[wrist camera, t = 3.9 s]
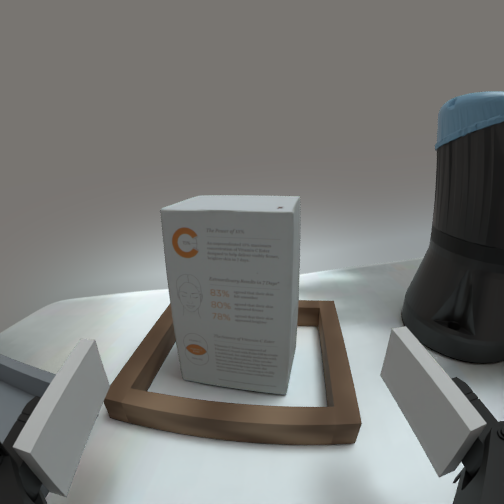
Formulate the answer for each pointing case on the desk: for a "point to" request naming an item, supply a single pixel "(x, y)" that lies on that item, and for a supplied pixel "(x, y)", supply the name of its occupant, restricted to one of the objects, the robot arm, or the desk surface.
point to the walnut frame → (241, 415)
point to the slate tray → (19, 392)
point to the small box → (234, 288)
